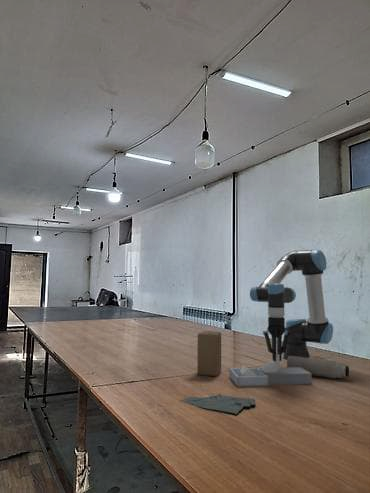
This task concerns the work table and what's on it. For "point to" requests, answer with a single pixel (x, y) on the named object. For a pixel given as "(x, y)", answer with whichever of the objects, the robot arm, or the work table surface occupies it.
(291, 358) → the thermos bottle
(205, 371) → the wooden block
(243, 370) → the tile
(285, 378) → the board
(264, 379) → the tray
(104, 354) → the work table surface
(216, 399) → the decorative slab
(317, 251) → the robot arm
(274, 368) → the tile
